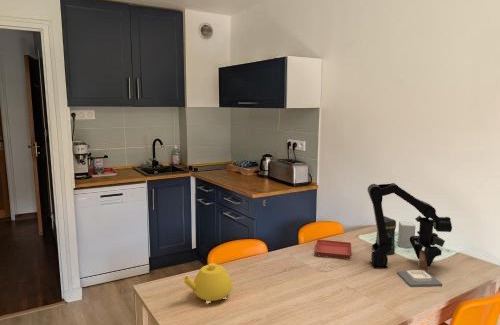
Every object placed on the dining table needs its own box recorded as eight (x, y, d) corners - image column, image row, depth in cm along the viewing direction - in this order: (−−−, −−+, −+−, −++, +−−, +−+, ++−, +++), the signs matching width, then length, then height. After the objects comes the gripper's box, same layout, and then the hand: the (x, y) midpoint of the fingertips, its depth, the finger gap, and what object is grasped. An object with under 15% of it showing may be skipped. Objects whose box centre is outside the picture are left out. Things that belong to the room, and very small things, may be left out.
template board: (410, 286, 161) (410, 281, 161) (396, 273, 174) (397, 268, 174) (442, 286, 162) (442, 280, 162) (426, 272, 175) (427, 267, 175)
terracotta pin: (421, 270, 178) (422, 253, 177) (417, 266, 182) (418, 250, 181) (429, 269, 178) (430, 253, 177) (425, 266, 182) (426, 250, 181)
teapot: (190, 313, 141) (189, 278, 139) (177, 295, 154) (176, 263, 152) (238, 300, 150) (238, 267, 148) (222, 284, 164) (222, 253, 162)
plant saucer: (350, 247, 206) (351, 242, 206) (351, 261, 189) (352, 254, 189) (316, 245, 211) (317, 239, 210) (314, 257, 193) (315, 251, 193)
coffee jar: (397, 253, 197) (399, 219, 194) (385, 256, 194) (387, 220, 191) (384, 247, 206) (386, 214, 203) (372, 249, 203) (374, 215, 200)
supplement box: (414, 248, 205) (415, 225, 203) (399, 247, 206) (401, 225, 204) (411, 243, 212) (412, 221, 210) (397, 242, 213) (398, 220, 211)
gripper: (454, 237, 168) (451, 270, 171) (432, 224, 187) (430, 254, 189) (429, 237, 168) (427, 271, 170) (410, 224, 186) (408, 255, 189)
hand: (423, 262), depth 180 cm, fingers open, 9 cm apart
